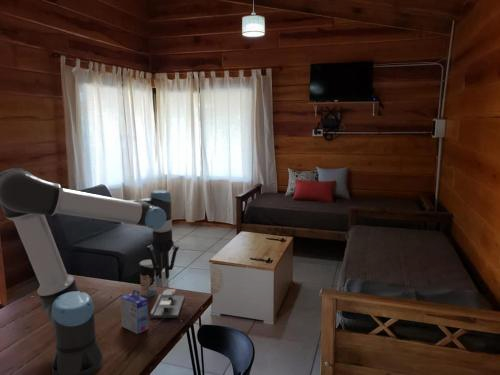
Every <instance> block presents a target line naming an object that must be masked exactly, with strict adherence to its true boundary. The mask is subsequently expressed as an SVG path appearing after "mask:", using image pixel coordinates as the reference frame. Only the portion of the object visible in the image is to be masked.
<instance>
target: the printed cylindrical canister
mask: <svg viewBox="0 0 500 375" xmlns="http://www.w3.org/2000/svg"><path fill="white" fill-rule="evenodd" d="M156 271H157V270H154V268H153V264H152V261H151V259H143V260H141V261H140V262H139V276H140V292H141V297H144V298H146V297H148V298H149V297H153V296H155V295H156V294H157V278H156V277H157V274H156Z"/></svg>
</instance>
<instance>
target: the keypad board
mask: <svg viewBox="0 0 500 375" xmlns="http://www.w3.org/2000/svg"><path fill="white" fill-rule="evenodd" d="M162 294H163V293H159V294H158V296H157V298H156V300H155V303H154V305H153V307H152V309H151V311H150V315H149V317H150V318H151V319H172V318H174V319H177V318H179V317H180V316H179V315H180V313H181V310H182V307H183V304H184V301H185V295H174V296H172V298H162ZM161 300H171V305H170V308H160V302H161Z"/></svg>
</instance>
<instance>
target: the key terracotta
mask: <svg viewBox="0 0 500 375" xmlns="http://www.w3.org/2000/svg"><path fill="white" fill-rule="evenodd" d="M166 290H173V296H176V293H177V292H176V291H177V290H176V288H166Z"/></svg>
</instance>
